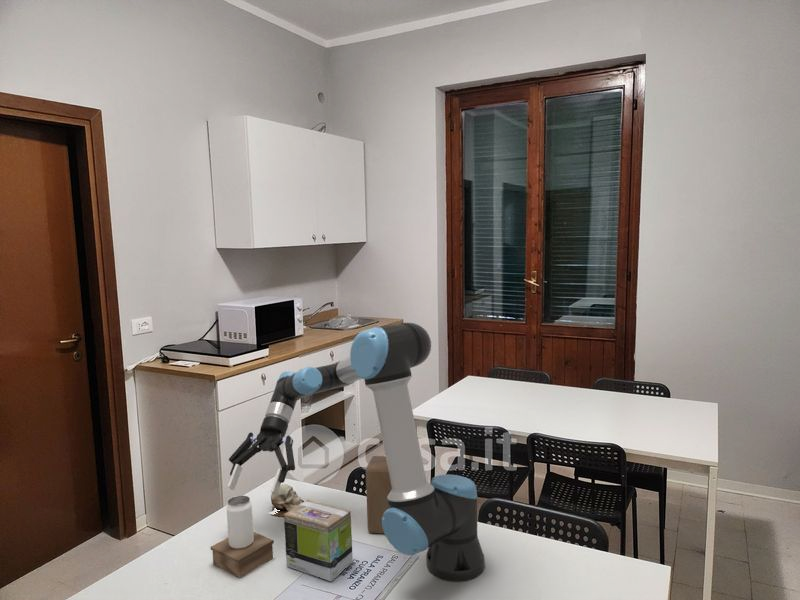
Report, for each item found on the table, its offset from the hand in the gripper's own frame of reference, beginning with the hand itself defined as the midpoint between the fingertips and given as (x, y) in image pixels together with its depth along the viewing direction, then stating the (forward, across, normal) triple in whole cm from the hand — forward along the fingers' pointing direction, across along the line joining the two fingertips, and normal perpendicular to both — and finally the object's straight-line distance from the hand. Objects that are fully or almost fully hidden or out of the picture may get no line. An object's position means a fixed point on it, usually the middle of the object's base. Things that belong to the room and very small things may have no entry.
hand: (251, 490), depth 157 cm
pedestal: (+16, 0, -7) cm, 18 cm away
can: (+13, 0, -4) cm, 14 cm away
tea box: (+14, -21, -10) cm, 27 cm away
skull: (-5, +3, -29) cm, 30 cm away
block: (-3, -32, -27) cm, 42 cm away
